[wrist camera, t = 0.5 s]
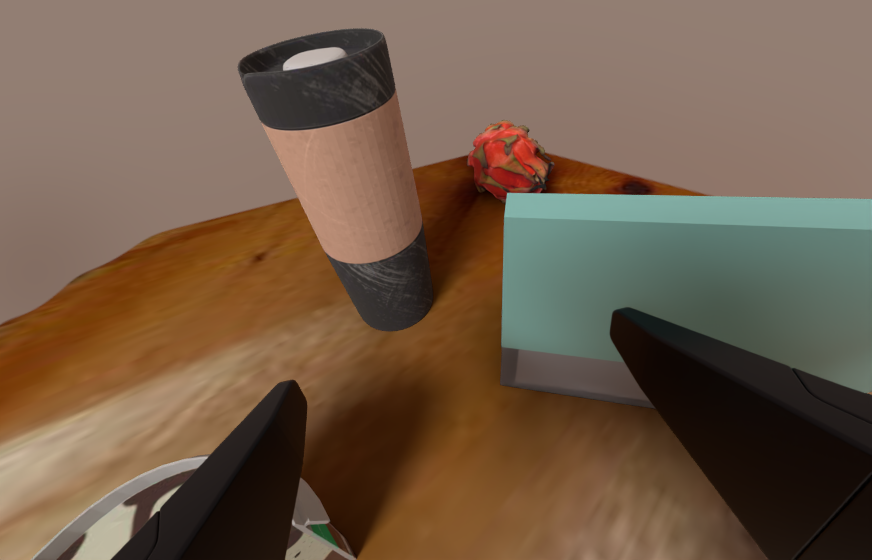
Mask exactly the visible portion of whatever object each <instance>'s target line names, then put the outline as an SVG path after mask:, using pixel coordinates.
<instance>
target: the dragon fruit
mask: <svg viewBox="0 0 872 560" xmlns="http://www.w3.org/2000/svg"><path fill="white" fill-rule="evenodd" d="M528 132H529V129H528V128H527V127H526V126H524V125H522V126H519V127H516V126H514V125H513V123H512V122H510V121H507V120H502V121H500V122H498V123H497V124H490V125H489V126H488V127H487V128H486V129H485V132H484V133H481V134H479V135H478V137H477V138H476V139H475V140H474V142H473V145H474V146H475V147H476V148H475V149H474V150H473V151H471V152H470V153H469V157H468V159H467V166H471V167H474V182H475V185H476V187H477V189H478V191H479V192H481V193H482V192H484V191H485V190H486V189H487V190H488V191H489V192H491V193H492V194H493V195H494V196H495V197H496V198H497V199H499V200H501V201H502V203H506V198H507V193H540V192H541V191H542V189H545V190H546V184H544V183H545V182H546V181H549V180H548V179H547V175H549V174H550V173H551V171H552V168H553V167H554V163H553V162H550V164H548V163H545V162H544V161H542V160H541V159H540V158H538V157H537V156H536V153H538V152H540V154H541V155H542V156H543V157H544V158H545V159H547V160H549V161H551V159H550V158H549V157H547V156H546V155H545V154H544V153H545V150H544V148H543V147H541V146H540V145H538V142H537V141H536V140H534V139H531V138H528ZM539 182H540V183H539ZM480 190H481V191H480Z"/></svg>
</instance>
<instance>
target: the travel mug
mask: <svg viewBox="0 0 872 560" xmlns="http://www.w3.org/2000/svg"><path fill="white" fill-rule="evenodd" d="M238 71H239V74H240V77H241V80H242V83H243V86H244V88H245V90H246V92H247V94H248V96H249V98H250V100H251V102H252V104H253V107H254V108H255V111H256V113H257V115H258V117H259V119H260V120H261V122H262V125H263V127H264V129H265V131H266V133H267V135H268V137H269V139H270V141H271V143H272V145H273V147H274V149H275V151H276V153H277V155H278V158H279V160H280V162H281V164H282V166H283V168H284V170H285V172H286V174H287V176H288V178H289V180H290V182H291V184H292V186H293V188H294V190H295V192H296V194H297V196H298V198H299V200H300V202H301V204H302V207H303V209H304V211H305V213H306V215H307V217H308V219H309V221H310V223H311V225H312V227H313V229H314V231H315V233H316V235H317V237H318V239H319V241H320V243H321V245H322V247H323V249H324V251H325V253H326V255H327V257H328V258H329V260H330V262H331V264H332V266H333V267H334V269H335V271H336V273H337V275H338V276H339V278H340V280H341V282H342V284H343V285H344V287H345V289H346V291H347V293H348V294H349V296H350V298H351V300H352V302H353V303H354V305H355V307H356V309H357V310H358V312H359V314H360V315H361V317H362V319H363V320H364V321H365V322H366V323H367V324H368V325H370V326H371V327H373V328H375V329H378V330H382V331H398V330H402V329H405V328H408V327H410V326H412V325H414V324H416V323H417V322H419V321H420V320H421V319H422V318H423V317H424V316H425V315H426V314H427V313H428V311H429V309H430V307H431V305H432V301H433V289H432V281H431V275H430V268H429V261H428V255H427V248H426V242H425V235H424V228H423V222H422V216H421V211H420V206H419V201H418V196H417V191H416V186H415V182H414V177H413V172H412V167H411V162H410V157H409V152H408V148H407V142H406V137H405V133H404V128H403V122H402V118H401V113H400V107H399V102H398V98H397V93H396V89H395V83H394V78H393V73H392V68H391V63H390V58H389V54H388V48H387V44H386V40H385V38H384V35H383V33H382V32H380V31H378V30H374V29H342V30H334V31H328V32H321V33H316V34H311V35H306V36H302V37H298V38H294V39H290V40H286V41H283V42H279V43H277V44H273V45H271V46H268V47H265V48H262V49H260V50H257V51H255V52H253V53H251V54H249V55H247V56H246V57H244V58H243V59H242V60H241V61H240V62H239V64H238Z"/></svg>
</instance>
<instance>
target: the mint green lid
mask: <svg viewBox="0 0 872 560" xmlns="http://www.w3.org/2000/svg"><path fill="white" fill-rule="evenodd" d="M625 307H630V308H633V309H636V310H639V311H641V312H644V313H647V314H650V315H652V316H655V317H658V318H660V319H663V320H666V321H669V322H671V323H674V324H677V325H679V326H682V327H685V328H688V329H690V330H693V331H696V332H698V333H701V334H704V335H707V336H709V337H712V338H715V339H717V340H720V341H723V342H725V343H728V344H731V345H734V346H736V347H739V348H742V349H744V350H747V351H750V352H753V353H755V354H758V355H761V356H763V357H766V358H769V359H772V360H774V361H777V362H780V363H782V364H785V365H788V366H790V367H791V369H792V368H796V369H799V370H802V371H804V372H807V373H810V374H812V375H815V376H818V377H821V378H823V379H826V380H829V381H832V382H835V383H838V384H840V385H843V386H846V387H849V388H852V389H855V390H858V391H861V392H864V393H868V392H872V199H834V198H776V197H771V198H770V197H717V196H659V195H601V194H542V193H507V198H506V207H505V215H504V252H503V296H502V340H501V347H506V348H514V349H522V350H530V351H538V352H545V353H553V354H561V355H569V356H577V357H585V358H593V359H601V360H609V361H617V362H624V361H623V359H622V357H621V356H620V354H619V352H618V351H617V349H616V347H615V346H614V344H613V342H612V340H611V338H610V324H611V317H612V312H613V311H614V310H616V309H620V308H625Z"/></svg>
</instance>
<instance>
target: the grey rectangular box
mask: <svg viewBox="0 0 872 560" xmlns="http://www.w3.org/2000/svg"><path fill="white" fill-rule="evenodd" d="M500 385H503V386H510V387H516V388H523V389H529V390H536V391H542V392H549V393H555V394H562V395H569V396H575V397H582V398H588V399H595V400H601V401H608V402H614V403H621V404H627V405H634V406H640V407H647V408H654V409H655V407H654V406H653V405H652V403H651V402H650V401H649V399H648V398H647V397H646V395H645V394H644V392H643V391H642V390H641V388H640V387H639V385H638V384H637V382H636V381H635V379H634V377H633V376H632V374H631V372H630V371H629V369H628V367H627V366H626V364H625V362H617V361H609V360H601V359H593V358H585V357H577V356H569V355H561V354H553V353H545V352H538V351H530V350H522V349H514V348H506V347H502V359H501V380H500Z"/></svg>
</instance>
